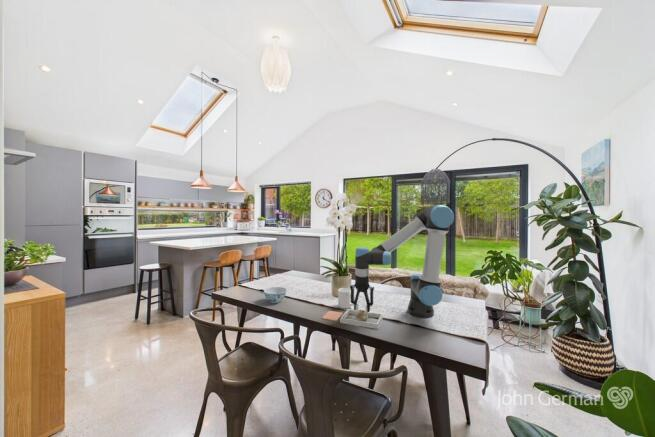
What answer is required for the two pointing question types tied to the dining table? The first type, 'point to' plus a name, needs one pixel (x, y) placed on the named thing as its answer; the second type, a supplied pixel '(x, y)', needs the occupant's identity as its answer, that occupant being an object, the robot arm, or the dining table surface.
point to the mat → (332, 315)
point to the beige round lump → (361, 315)
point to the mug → (344, 298)
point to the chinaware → (275, 294)
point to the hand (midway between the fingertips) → (361, 316)
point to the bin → (360, 323)
